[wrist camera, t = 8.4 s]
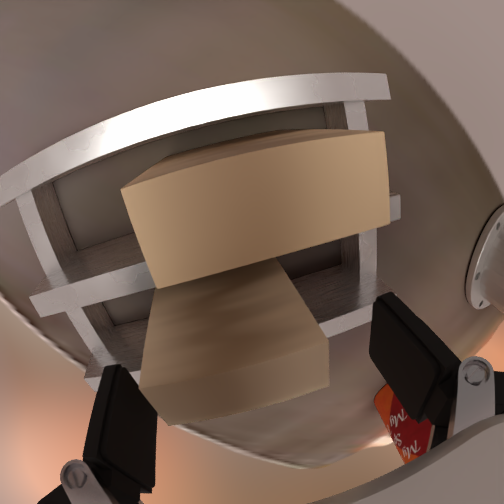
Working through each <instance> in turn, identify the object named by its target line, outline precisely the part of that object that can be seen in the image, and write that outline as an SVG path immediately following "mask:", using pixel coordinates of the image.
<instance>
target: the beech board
mask: <svg viewBox="0 0 504 504" xmlns="http://www.w3.org/2000/svg"><path fill="white" fill-rule="evenodd" d="M327 386H329V341H328V339H327V337H326V336H325V334H324V333H323V331H322V329H321V328H320V326H319V325H318V323H317V321H316V320H315V318H314V317H313V315H312V313H311V312H310V310H309V309H308V307H307V306H306V304H305V302H304V301H303V299H302V298H301V296H300V294H299V293H298V291H297V290H296V288H295V287H294V285H293V283H292V282H291V280H290V279H289V277H288V276H287V274H286V273H285V271H284V269H283V268H282V266H281V265H280V263H279V262H278V260H277V259H276V257H273V258H270V259H266V260H263V261H259V262H256V263H252V264H248V265H245V266H241V267H237V268H234V269H230V270H227V271H223V272H219V273H216V274H212V275H208V276H205V277H201V278H197V279H194V280H190V281H186V282H183V283H179V284H175V285H171V286H168V287H164V288H160V289H157V287H155V291H154V295H153V300H152V306H151V311H150V316H149V322H148V327H147V333H146V339H145V345H144V352H143V359H142V366H141V373H140V381H139V390H140V391H141V392H142V394H143V395H144V396H145V398H146V399H147V400H148V401H149V403H150V404H151V405H152V406H153V408H154V409H155V410H156V411H157V413H158V414H159V415H160V416H161V417H162V419H163V420H164V421H165V422H166V423H167V424H168V426H171V425H178V424H185V423H191V422H197V421H203V420H209V419H214V418H219V417H224V416H228V415H233V414H237V413H242V412H246V411H250V410H254V409H258V408H261V407H265V406H269V405H272V404H276V403H279V402H283V401H286V400H289V399H292V398H296V397H299V396H302V395H305V394H308V393H311V392H314V391H316V390H319V389H322V388H325V387H327Z"/></svg>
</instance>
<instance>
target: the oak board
mask: <svg viewBox="0 0 504 504" xmlns="http://www.w3.org/2000/svg"><path fill="white" fill-rule="evenodd" d="M121 193H122V196H123V199H124V202H125V205H126V208H127V211H128V214H129V217H130V220H131V223H132V226H133V228H134V231H135V234H136V237H137V239H138V242H139V245H140V247H141V250H142V253H143V255H144V258H145V260H146V263H147V265H148V268H149V270H150V273H151V275H152V278H153V280H154V282H155V285H156V287H157V289H160V288H164V287H168V286H171V285H175V284H179V283H183V282H186V281H190V280H194V279H197V278H201V277H205V276H208V275H212V274H216V273H219V272H223V271H227V270H230V269H234V268H237V267H241V266H245V265H248V264H252V263H256V262H259V261H263V260H266V259H270V258H273V257H277V256H281V255H284V254H288V253H291V252H295V251H298V250H302V249H305V248H309V247H312V246H316V245H319V244H323V243H326V242H330V241H333V240H337V239H340V238H344V237H347V236H351V235H354V234H357V233H361V232H364V231H368V230H371V229H375V228H378V227H381V226H385V225H388V224H390V198H389V179H388V165H387V154H386V145H385V136H384V132H382V131H367V130H342V129H296V130H277V131H271V132H266V133H260V134H255V135H250V136H246V137H241V138H236V139H232V140H228V141H223V142H219V143H215V144H211V145H207V146H203V147H199V148H196V149H192V150H188V151H185V152H181V153H178V154H174V155H171V156H168V157H165V158H164V159H162V160H161V161H159V162H158V163H156V164H155V165H153V166H152V167H150V168H149V169H148V170H146V171H145V172H143V173H142V174H141V175H139V176H138V177H136V178H135V179H134V180H132V181H131V182H130V183H128V184H127V185H125V186H124V187H123V188H121Z"/></svg>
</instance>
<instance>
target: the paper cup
mask: <svg viewBox="0 0 504 504" xmlns="http://www.w3.org/2000/svg"><path fill="white" fill-rule="evenodd" d="M374 403H375V406H376V408H377V410H378V412H379V414H380V416H381V418H382V420H383V422H384V424H385V426H386V428H387V430H388V432H389V434H390V436H391V438H392V440H393V442H394V443H395V446H396V448H397V449H398V452H399V454H400V456H401V458H402V460H403V462H404V464H407V463H408V462H410V461H412V460H414V459H416V458H418V457H419V456H421V455H423V454H425V453H426V451H427V447H428V442H429V438H430V433H431V428H432V424H431V422H430V421H429V419H426V420H424V421H423V422H421V423H419V424H418V423H417V421H416V420H415V419H414V420H412V419H411V418H410V417H409V416H408V414H407V412H406V411H405V409H404V408H403V406H402V405H401V403H400V402H399V400H398V398H397V397H396V395H395V394H394V392H393V391H392V389H391V388H390V386H389V385H388V383H387V384H386V385H385V386H384V387H383V388H382V389H381V390H380V391H379V392H378V393H377V395H376V396H375V398H374Z"/></svg>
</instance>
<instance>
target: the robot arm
mask: <svg viewBox="0 0 504 504" xmlns="http://www.w3.org/2000/svg"><path fill="white" fill-rule="evenodd" d="M466 297H467V301H468V302H469V304H470V305H472V306H473V307H474V308H475V309H483V308H485V307H487V306H489V305H490V304H492V305H493V306H494V307H496V308H497V309H498V310H499V311H501V312H502V313H503V314H504V205H503V206H501V207H500V208H499V209H498V210H496V212H495V213H494V214H493V215H492V216H491V218H490V220H489V221H488V223H487V224H486V226H485V228H484V230H483V232H482V234H481V236H480V238H479V240H478V243H477V245H476V248H475V250H474V253H473V256H472V259H471V263H470V266H469V270H468V275H467V281H466ZM369 354H370V357H371V359H372V361H373V362H374V364H375V365H376V367H377V368H378V370H379V371H380V373H381V374H382V376H383V377H384V379H385V380H386V382H387V383H388V385H389V386H390V388H391V389H392V391H393V392H394V394H395V395H396V397H397V398H398V400H399V402H400V403H401V405H402V406H403V408H404V409H405V411H406V412H407V414H408V416H409V417H410V418H411V419H412V420H414V419H415V420H416V421H417V423H418V424H419V423H421V422H423V421H424V420H426V419H429V421H430V422H431V424H432V428H431V433H430V438H429V442H428V447H427V451H426V453H425V454H423V455H421V456H419V457H418V458H416V459H414V460H412V461H410V462H408V463H407V464H405V465H403V466H401V467H399V468H397V469H395V470H394V471H391V472H389V473H387V474H385V475H383V476H381V477H379V478H376V479H374V480H372V481H370V482H367V483H365V484H363V485H360V486H358V487H355V488H353V489H350V490H348V491H345V492H342V493H340V494H337V495H334V496H331V497H328V498H325V499H322V500H319V501H315V502H312V503H308V504H504V372H498V371H493V368H492V366H491V364H490V363H489V362H488V361H487V360H486V359H484V358H481V357H477V356H474V357H469V358H466V359H465V360H464V361H463V362H461V361H460V360H459V359H458V358H457V356H456V355H455V354H454V353H453V352H452V351H451V350H450V349H449V348H448V347H447V346H446V345H445V343H444V342H443V341H442V340H441V339H440V338H439V337H438V336H437V335H436V334H435V333H434V332H433V331H432V330H431V329H430V328H429V327H428V326H427V325H426V324H425V323H424V322H423V321H422V320H421V319H420V318H418V317H417V316H416V315H415V314H414V313H413V312H412V311H411V310H410V309H409V308H408V307H407V306H406V305H405V304H404V303H403V302H402V301H401V300H400V299H399V298H398V297H397V296H396V295H395V294H394V293H392V292H388V293H385V294H382V295H380V296H378V297H377V298H376V301H375V302H373V308H372V323H371V335H370V345H369ZM156 433H157V411H156V410H155V409H154V408H153V406H152V405H151V404H150V403H149V401H148V400H147V399H146V398H145V396H144V395H143V394H142V392H141V391H140V390H139V385H138V384H137V382H136V381H135V380H134V378H133V377H132V376H131V374H130V373H129V371H128V370H127V369H126V368H125V367H122V366H121V365H120V364H114V365H107V366H105V367H104V370H103V373H102V376H101V380H100V383H99V387H98V391H97V394H96V398H95V402H94V406H93V410H92V414H91V418H90V422H89V427H88V432H87V436H86V441H85V446H84V451H83V461H81V460H77V459H76V460H71V461H69V462H67V463H66V464H65V465H64V466H63V468H62V470H61V474H60V480H61V483H62V484H61V485H59V486H58V487H57V488H56V489H54V490H53V491H52V492H50V493H49V494H48V495H46V496H45V497H44V498H42V499H41V500H40V501H39V502H38V503H37V504H144V503H143V502H142V501H141V500H140V493H152V488H153V487H154V486H155V460H156Z"/></svg>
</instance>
